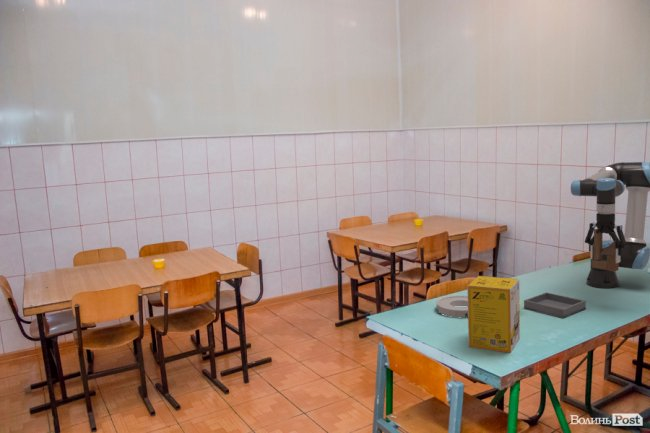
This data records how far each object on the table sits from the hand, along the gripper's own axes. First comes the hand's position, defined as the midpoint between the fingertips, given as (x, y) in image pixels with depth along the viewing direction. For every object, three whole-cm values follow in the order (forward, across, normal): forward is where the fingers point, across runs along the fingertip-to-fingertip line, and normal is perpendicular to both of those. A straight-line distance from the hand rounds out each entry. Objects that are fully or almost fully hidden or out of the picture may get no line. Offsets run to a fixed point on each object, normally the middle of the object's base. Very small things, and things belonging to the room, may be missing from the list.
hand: (605, 260), depth 251 cm
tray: (+22, -15, -16) cm, 31 cm away
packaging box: (+22, -8, -69) cm, 73 cm away
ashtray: (+23, -44, -47) cm, 68 cm away
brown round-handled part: (+4, 0, 0) cm, 4 cm away
